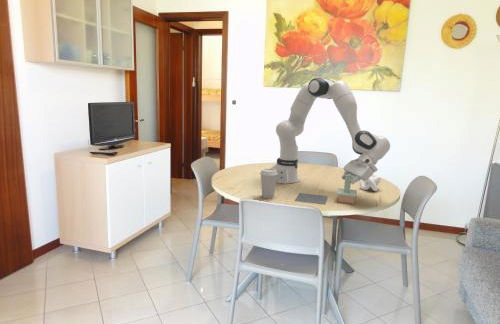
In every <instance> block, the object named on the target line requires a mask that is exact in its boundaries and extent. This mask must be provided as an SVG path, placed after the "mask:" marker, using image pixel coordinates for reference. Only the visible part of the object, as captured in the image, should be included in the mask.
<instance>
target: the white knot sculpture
mask: <svg viewBox="0 0 500 324" xmlns="http://www.w3.org/2000/svg"><path fill="white" fill-rule="evenodd" d="M381 178H382V177H381V176H379V175H376V176H373V175H372V176H371V177H370V178H369V179H368V180H366V181H363V180H361V179H360V180H359V187H360V188H361V189H362V190H363V191H368V190H370V189H371V190H372V191H373V192H377V191H378V190H379V187H378V185H379V184H380V182H381V180H382V179H381Z"/></svg>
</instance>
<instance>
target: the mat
mask: <svg viewBox="0 0 500 324" xmlns="http://www.w3.org/2000/svg"><path fill="white" fill-rule="evenodd" d="M328 197H329V196H328V195H320V194H314V193H313V194H311V193H303V192H298V194H297V196H296V197H295V199H294V202H300V203H308V204H314V205H315V204H316V205H326V204H327V200H328Z"/></svg>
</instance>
